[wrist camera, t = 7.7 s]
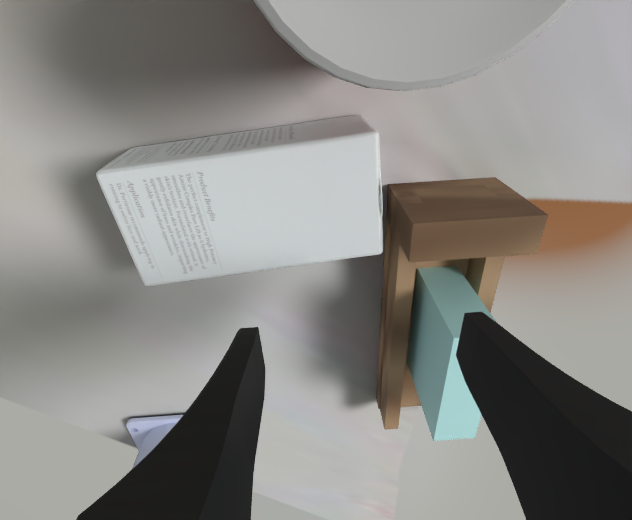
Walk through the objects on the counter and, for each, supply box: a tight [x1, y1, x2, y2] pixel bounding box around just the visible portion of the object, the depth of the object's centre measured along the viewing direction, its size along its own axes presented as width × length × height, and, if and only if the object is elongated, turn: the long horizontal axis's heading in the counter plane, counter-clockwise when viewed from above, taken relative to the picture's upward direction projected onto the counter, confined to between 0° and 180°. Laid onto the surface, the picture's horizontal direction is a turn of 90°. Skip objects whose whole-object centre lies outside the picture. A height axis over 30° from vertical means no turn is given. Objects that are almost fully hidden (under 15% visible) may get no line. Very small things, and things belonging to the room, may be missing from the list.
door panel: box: [407, 266, 496, 441], centre depth 22 cm, size 8×2×6 cm, turn 3°
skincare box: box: [96, 115, 383, 286], centre depth 18 cm, size 6×4×12 cm
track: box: [376, 178, 548, 429], centre depth 23 cm, size 18×6×5 cm, turn 3°
